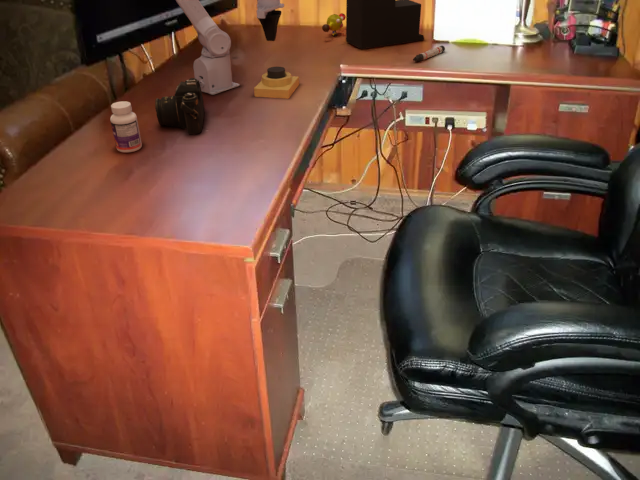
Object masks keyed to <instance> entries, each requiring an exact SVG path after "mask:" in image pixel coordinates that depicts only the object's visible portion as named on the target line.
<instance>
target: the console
mask: <svg viewBox="0 0 640 480" xmlns="http://www.w3.org/2000/svg"><path fill="white" fill-rule="evenodd" d="M285 76H286V77H284V78H279V79H271V78H268V74H267V72H264V73H263V74H262V75H261V80H260V81H259V82H258V83H257V84H256V85H255V86H254V87H253V93H254V97H258V98H275V99H290V97H291V96H292V95H293V93H294V92H295V91H296V89H298V87H299V86H300V76H292V74H291V73H290V72H289V71H285Z"/></svg>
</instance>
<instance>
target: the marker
mask: <svg viewBox="0 0 640 480" xmlns="http://www.w3.org/2000/svg"><path fill="white" fill-rule="evenodd" d="M445 51H446V47H445V45H440V46H436V47H434V48H430V49H428V50H426V51H424V52H421V53H418V54H417V55H415V57H413V60H412V61H413V62H418V63H419V62H422V61H425V60H427V59H429V58H431V57H434V56H436V55H440V54H442V53H444V52H445Z"/></svg>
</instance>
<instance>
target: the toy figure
mask: <svg viewBox="0 0 640 480" xmlns="http://www.w3.org/2000/svg"><path fill="white" fill-rule="evenodd" d="M343 21H346V14H345V13H343V12H341V13H339V14H336V13H333V14H330V15H329V16H328V17H327V19H326V23H325V24H322V27H321V28H322V31H323V32H324V33H328V32H329V31H332V32H331V34H332V35H331V36H332V37H336V36H338V35H339V33H337V31H339V30H340V29H341V28H342V27H344V23H343Z"/></svg>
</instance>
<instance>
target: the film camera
mask: <svg viewBox="0 0 640 480" xmlns="http://www.w3.org/2000/svg"><path fill="white" fill-rule="evenodd" d="M154 102H155V103H154V104H155V105H154V107H155V113H156V118H157V121H158V124H159V126H161V127H162V126H167V127H169V128H171V127H175V128H177V127H178V128H180V129H182V130H184V129H186V132H187V134H189V135H194V134H200V133H202V130H203V127H204V121H205V120H204V119H205V117H204V116H205V105H204V96H203V92H202V91H201V87H200V82H199V80H197V79H195V77H190V78H189V79H186V80H184V81H180V82H179V84H178V85H177V86H176V89H175V91H174V95H171V96H162V97H161V98H159V97H157V98H155V101H154Z"/></svg>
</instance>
